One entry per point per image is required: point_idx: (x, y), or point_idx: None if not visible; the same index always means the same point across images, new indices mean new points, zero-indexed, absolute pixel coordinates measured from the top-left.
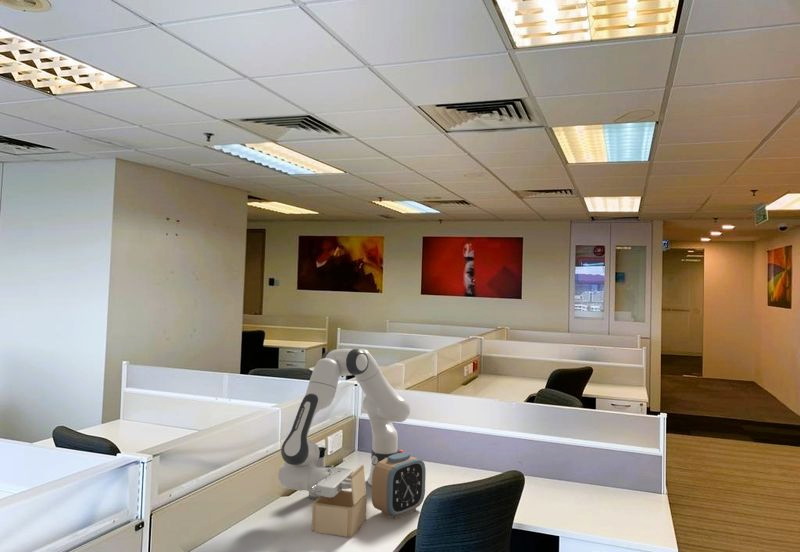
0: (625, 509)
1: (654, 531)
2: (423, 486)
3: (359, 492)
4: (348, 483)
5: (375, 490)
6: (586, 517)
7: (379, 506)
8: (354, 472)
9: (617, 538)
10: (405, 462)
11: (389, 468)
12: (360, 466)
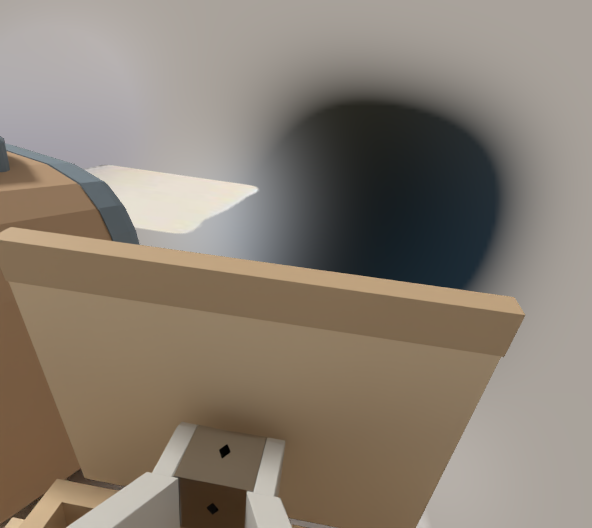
0: (152, 181)
1: (221, 184)
2: None
3: None
4: (288, 518)
5: (14, 419)
6: (174, 198)
7: (67, 470)
8: (369, 281)
9: (243, 197)
10: (32, 155)
11: (70, 200)
12: (75, 244)
